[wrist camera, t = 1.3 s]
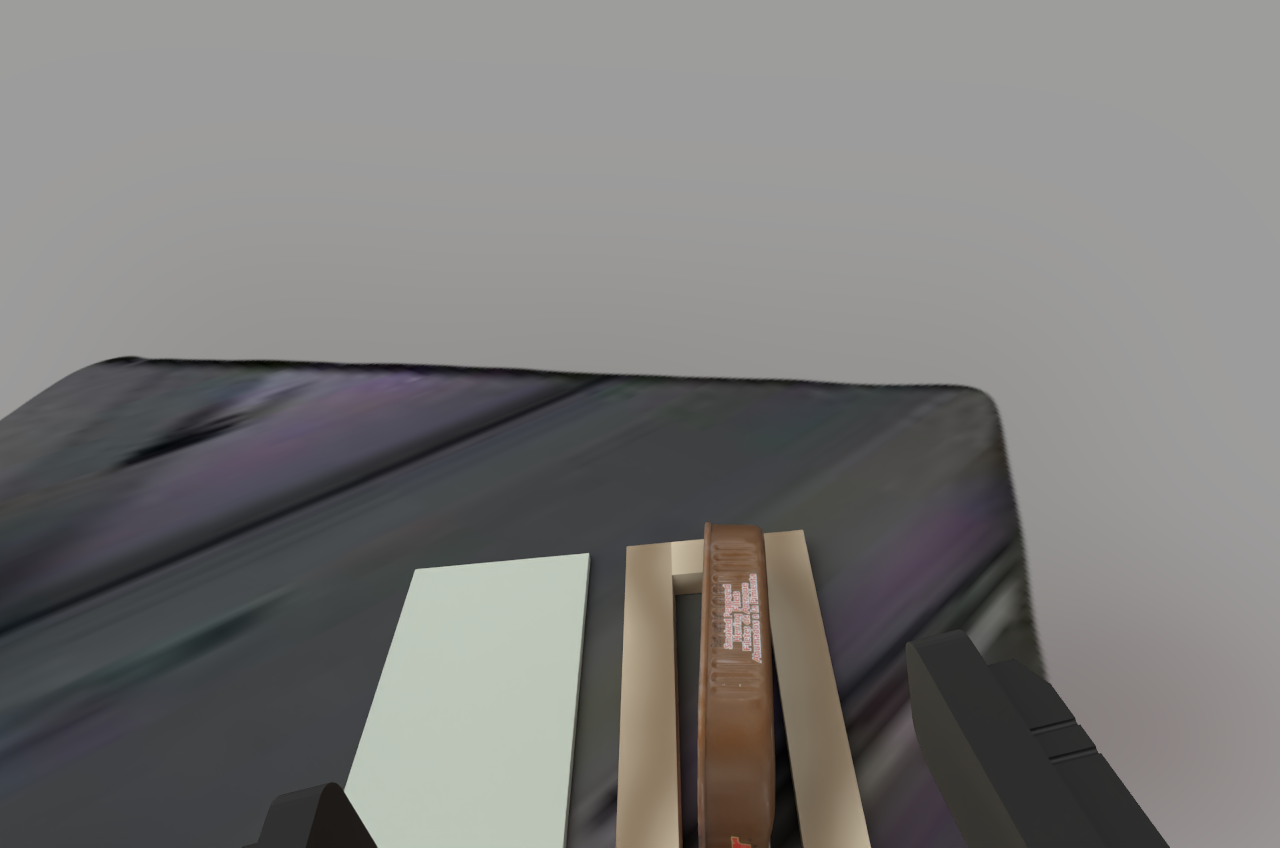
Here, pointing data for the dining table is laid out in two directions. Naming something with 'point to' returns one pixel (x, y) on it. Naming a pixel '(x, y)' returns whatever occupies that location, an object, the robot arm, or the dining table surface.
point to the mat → (477, 709)
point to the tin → (735, 692)
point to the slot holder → (804, 689)
